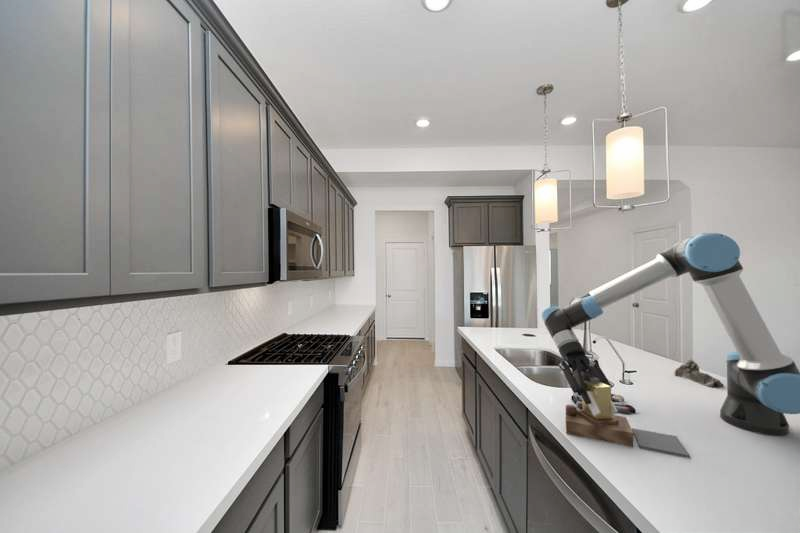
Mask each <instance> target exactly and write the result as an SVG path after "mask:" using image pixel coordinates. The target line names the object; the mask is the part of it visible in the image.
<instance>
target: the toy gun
mask: <svg viewBox="0 0 800 533" xmlns="http://www.w3.org/2000/svg"><path fill="white" fill-rule="evenodd" d="M611 397H612V399H613V401H612V402H613V404H614V405H615V407H616V409H617V410H618V412H617V413H622V414H628V415H629V414H636V413H637V412H636V411H637V410H636V408H635V407H634V406H633V405H630V404H628V403H626V402H625V398H624V396H622V395H620V394H615V393H614V394H613V393H611ZM571 402H573V403H574V404H575V406H576V409H582V396H579V395H578V393H574V392H572V395H571Z"/></svg>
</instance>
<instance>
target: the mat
mask: <svg viewBox="0 0 800 533" xmlns="http://www.w3.org/2000/svg"><path fill="white" fill-rule="evenodd" d="M631 429H632V431H633V438H634V439H635V441H636V443H637V445H638V448H639V449H641V450H646V451H650V452H651V451H652V452H656V453H662V454H665V455H670V456H675V457H682V458H687V459H691V455H690V453H689V452H688V451H687V449H686V447H684V445H683V443H682V442H681V440H680V439H679V438H678V436H677V435H672V434H666V433H660V432H654V431H650V430H645V429H644V430H642V429H640V428H632V427H631Z"/></svg>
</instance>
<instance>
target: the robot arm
mask: <svg viewBox="0 0 800 533" xmlns="http://www.w3.org/2000/svg"><path fill="white" fill-rule="evenodd" d="M740 257H741V250H740V246H739V244H738V243H737V242H736V241H735V240H734V239H733V238H731V237H730V236H728V235H725V234H722V233H720V232H719V233H718V232H704V233H699V234H696V235H693V236H689V237H685V238H683V239H682V240H680V241H678V242H676V243H675V244H674V245H672V246H671V247H669V248H667V249H666V250H664V251H661V252H660V253H658V254H656V257H655V258H654V259H653V260H651V261H649V262H646V263H644V264H643V265H641V266H639V267H637V268H634V269H633V270H631V271H628V272H627V273H625V274H623V275H621V276H619V277H617V278H615V279H612V280H611V281H609V282H607V283H605V284H603V285H601V286H599V287H596V288H595V289H593V290H590V291H589V292H587V293H585V294H583V295H581V296H578V297H575V298H573V299H572V300H571V302H570V304H569V305H568V306H565V307H562V308H560V307H559V306H557V305H556V306H555V305H553V306H549V307H547V308H545V309H544V310H543V311H542V312H541V318H542V321H543V322H544V326H545V328H546V329H547V331H548V333H549V335H550V337H551V339H552V340H553V342H554V345H555V347H556V349H558V352H559V355H560V356H561V358H562V361H561V362H560V363H559V364H558V367H559V368H560V370H561V371H562V372H563V374H564V376H565V378H566V381H567V384H569V386H570V388H571V391H572V393H578V395H579V396H582V398H583V400H584V402H585V403H586V404H588V406H589V408H590V410H591V412H592V414H593V416H597V415H598V414H600V413H601V412H600V410H599V408H598V406H597V404H596V403H595V401H594V399H593V397H592V395H591V393H590V391H587V392H586V387H585V384H584V381H585V380H584V378H583V374H584V375H585V376H587V377H596V378H598V379H599V381H600V382H602V383H604V384H606V385H609V386H611V388H612V387H613V386H612V384H611V382H610V381H609V379H608V378H607V376H606V375H605V373H604V371H603V370H602V368H601V367H600V363H599V360H597V359H594V360H592V359H589V357H588V356H587V355H586V352H585V351H586V350H585V349H584V347H583V345H582V344H581V342H580V340H579V339H578V337H577V335H576V334H575V332H574V330H573V328H575V327H577V326H580V325H582V324H584V323H586V322H589V321H591V320H593V319H597V317H600V316H601V315H603V313H604V310H603V309H604V308H606V307H608V306H610V305H612V304H614V303H617V302H619V301H621V300H623V299H625V298H628V297H630V296H632V295H634V294H636V293H638V292H641V291H642V290H643V291H644V289H647V288H649V287H651V286H652V285H655V284H657V283H660V282H662V281H664V280H667V279H668V278H671V277H672V278H678V277H680V276H682V275H684V274H688V273H689V275H690V277H691V279H692V281H693V282H694V283H696V284H699V285H701V286H702V287H703V288H704V291H705V292H706V295H707V297H708V298H709V300H710V303H711V304H712V306H713V308H714V310H715V312H716V313H717V316H718V318H719V320H720V322H721V323H722V325H723V327H724V329H725V331H726V333H727V336H729V338H730V341H731V344H732V345H733V347H734V349H735V350H736V351H731V352H729V353H727V355H726V356H727V359H726V361H725V362H726V377H727V378H726V382H727V383H726V386H727V387H726V388H727V389H726V390H727V394H726V398H725V399H724V402H723V404H722V406H721V408H720V409H719V410H720V411H719V413H720V414H719V415H720V418H721V419H722V420H723V421H724V422H726V423H727V424H729V425H733V426H734V427H737V428H740V429H743V430H746V431H750V432H753V433H759V434H761V435H762V434H763V435H770V436H788V435H789V434H790V424H789V422H788V420H787V418H786V416H785V414H787V415H799V414H800V370H799V368H798V367H797V364H796V362H795V361H794V358H792V357H790V356H788V355H785V354H783V353H782V352H781V351H780V349H779V347H778V345H777V342H776V341H775V339H774V337H773V336H772V333H771V332H770V330H769V328H768V327H767V324H766V322H765V321H764V319H763V317H762V315H761V314H760V311H759V310H758V308H757V306H756V304H755V302H754V300H753V298H752V297H751V295H750V292H749V291H748V289H747V288H746V285H745V284H744V282H743V280H742V278H741V274H742V272H743V270H744V267H743V265H742V264H741V262H740V260H739V259H740ZM582 373H583V374H582ZM612 401H613V399H612V397H611V415H616V414H617V413H619V412H618V410H617V409H616V407H615V405H614V404H613V402H612Z"/></svg>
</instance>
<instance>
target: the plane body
mask: <svg viewBox="0 0 800 533" xmlns="http://www.w3.org/2000/svg"><path fill="white" fill-rule="evenodd" d="M565 430H566V431H565V432H566V434H567V435H570V436H576V437H581V438H586V439H591V440H595V441H601V442H607V443H610V444H617V445H621V446H627V447H631V448H634V435H633V431H632V426H631V425H630V423H629V420H628V419H627V417H626V416H622V415H616V414H613V415H611V420H602V421H596V420H594V419H592V418H591V417H589V416H588V415H586V414H584V413H583V412H582V409H579V408H577V406H576V405H573V404H566V405H565Z"/></svg>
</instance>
